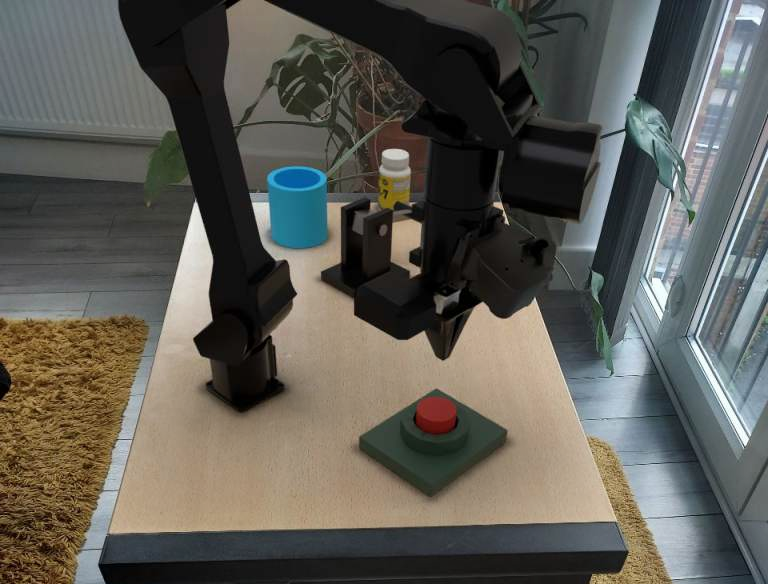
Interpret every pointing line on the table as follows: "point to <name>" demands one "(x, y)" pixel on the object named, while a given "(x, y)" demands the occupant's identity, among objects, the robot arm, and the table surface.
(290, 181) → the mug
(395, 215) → the lever
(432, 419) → the button
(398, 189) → the supplement bottle
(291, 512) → the table surface
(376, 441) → the switch
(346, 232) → the lever bracket
